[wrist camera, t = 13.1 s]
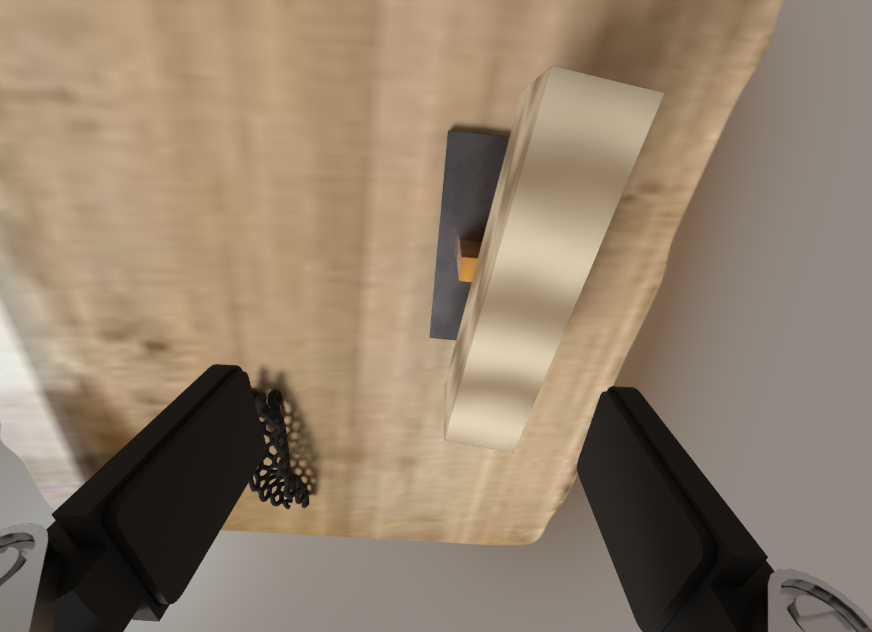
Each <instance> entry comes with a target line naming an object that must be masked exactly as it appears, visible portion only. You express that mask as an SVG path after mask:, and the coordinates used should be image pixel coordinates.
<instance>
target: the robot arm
mask: <svg viewBox="0 0 872 632" xmlns="http://www.w3.org/2000/svg"><path fill="white" fill-rule="evenodd" d="M265 450H266V442H265V438H264V435H263V431H262V427H261V423H260V419H259V415H258V412H257V408H256V404H255V400H254V396H253V392H252V389H251V385H250V381H249V377H248V374H247V373H246V372H244V371H242V369H241V368H240V367H239V366H237V365H220V364H215V365H212V366H211V367H209V368H208V369H207V370H206V371H205V372H204V373H203V374H202V375H201V376H200V377H199V378H198V379H196V380H195V381H194V382H193V383H192V384H191V385H190V386H189V387H188V388H187V389H186V390H185V391H184V392H183V393H181V394H180V395H179V396H178V397H177V398H176V399H175V400H174V401H173V402H172V403H171V404H170V405H169V406H167V407H166V408H165V409H164V410H163V411H162V412H161V413H160V414H159V415H158V416H157V417H156V418H155V419H153V420H152V421H151V422H150V423H149V424H148V425H147V426H146V427H145V428H144V429H143V430H142V431H141V432H140V433H138V434H137V435H136V436H135V437H134V438H133V439H132V440H131V441H130V442H129V443H128V444H127V445H126V446H124V447H123V448H122V449H121V450H120V451H119V452H118V453H117V454H116V455H115V456H114V457H113V458H112V459H111V460H109V461H108V462H107V463H106V464H105V465H104V466H103V467H102V468H101V469H100V470H99V471H98V472H97V473H95V474H94V475H93V476H92V477H91V478H90V479H89V480H88V481H87V482H86V483H85V484H84V485H83V486H82V487H80V488H79V489H78V490H77V491H76V492H75V493H74V494H73V495H72V496H71V497H70V498H69V499H68V500H66V501H65V502H64V503H63V504H62V505H61V506H60V507H59V508H58V509H57V510H56V511H55V512H54V513H53V514H52V516H53V517H54V518H55V520H56V521H55V522H54V523H53V524H52V525H51V526H50V527H49V528H48V529H45V528H44V527H42V526H41V525H37V524H31V523H29V524H21V525H15V526H11V527H8V528H5V529H2V530H0V632H123V631H124V630H125V628H126V627H127V625H128V624H129V622H130V621H131V619H133V620H145V621H160V619H161V618H162V616H163V614H164V613H165V611H166V610H167V608H168V606H169V605H170V604H173V603H175V602H176V601H177V600H178V599H179V598H180V597H181V595H182V594H183V592H184V590H185V589H186V587H187V585H188V584H189V582H190V580H191V579H192V577H193V575H194V574H195V572H196V570H197V569H198V567H199V565H200V563H201V562H202V560H203V558H204V556H205V555H206V553H207V552H208V550H209V548H210V547H211V545H212V543H213V541H214V540H215V538H216V536H217V535H218V533H219V531H220V530H221V528H222V526H223V525H224V523H225V521H226V520H227V518H228V516H229V515H230V513H231V511H232V509H233V508H234V506H235V504H236V503H237V501H238V499H239V498H240V496H241V494H242V493H243V491H244V489H245V487H246V486H247V484H248V482H249V481H250V479H251V477H252V476H253V474H254V472H255V471H256V469H257V467H258V466H259V464H260V462H261V460H262V459H263V457H264V454H265ZM577 471H578V475H579V478H580V481H581V483H582V486H583V488H584V491H585V493H586V496H587V498H588V501H589V503H590V506H591V508H592V511H593V513H594V516H595V518H596V521H597V523H598V526H599V529H600V531H601V534H602V536H603V539H604V541H605V544H606V546H607V549H608V551H609V554H610V557H611V559H612V562H613V564H614V567H615V569H616V572H617V574H618V577H619V579H620V582H621V584H622V587H623V589H624V592H625V594H626V597H627V599H628V602H629V604H630V607H631V610H632V612H633V615H634V617H635V620H636V622H637V624H638V626H639V628H640V629H641V630H642V631H643V632H872V619H871V618H870V617H869V616H868V615H867V614H866V613H865V612H864V611H863V610H862V609H861V608H860V607H858V606H857V605H856V604H855V603H853V602H852V601H851V600H850V599H848V598H847V597H846V596H845V595H844V594H842V593H841V592H839V591H838V590H836V589H835V588H833V587H832V586H830V585H828V584H827V583H825V582H824V581H822V580H820V579H817V578H815V577H813V576H811V575H809V574H807V573H804V572H800V571H796V570H792V569H778V570H777V571H775V572H774V570H773V569H772V568H771V566H770V565H769V564H768V562H767V561H766V559H767V558H768V556H767V555H766V554H765V553H764V551H763V550H762V549H761V548H760V546H759V545H758V544H757V542H756V541H755V540H754V538H753V537H752V536H751V535H750V533H749V532H748V531H747V530H746V529H745V527H744V526H743V524H742V523H741V522H740V520H739V519H738V518H737V517H736V515H735V514H734V513H733V511H732V510H731V509H730V508H729V507H728V505H727V504H726V502H725V501H724V500H723V499H722V497H721V496H720V495H719V493H718V492H717V491H716V490H715V488H714V487H713V486H712V485H711V483H710V482H709V481H708V479H707V478H706V477H705V475H704V474H703V473H702V472H701V470H700V469H699V468H698V466H697V465H696V464H695V463H694V461H693V460H692V459H691V457H690V456H689V455H688V454H687V452H686V451H685V450H684V449H683V447H682V446H681V445H680V443H679V442H678V441H677V439H676V438H675V437H674V436H673V434H672V433H671V432H670V430H669V429H668V428H667V427H666V425H665V424H664V423H663V421H662V420H661V419H660V418H659V416H658V415H657V414H656V412H655V411H654V410H653V408H652V407H651V406H650V405H649V403H648V402H647V401H646V400H645V398H644V397H643V396H642V394H641V393H640V392H639V391H638V390H637V389H636V388H633V387H615V386H612V387H610V388H609V389H608V390H607V392H602V393H601V395H600V398H599V401H598V404H597V407H596V410H595V413H594V415H593V418H592V421H591V424H590V427H589V430H588V433H587V436H586V439H585V442H584V445H583V447H582V450H581V453H580V456H579V459H578V463H577Z"/></svg>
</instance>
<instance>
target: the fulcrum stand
mask: <svg viewBox="0 0 872 632" xmlns="http://www.w3.org/2000/svg"><path fill="white" fill-rule="evenodd" d="M509 138H510V137H507V136H497V135H487V134H476V133H466V132H456V131H448V138H447V149H446V160H445V171H444V182H443V194H442V205H441V216H440V227H439V238H438V249H437V260H436V272H435V283H434V294H433V305H432V316H431V327H430V338H437V339H448V340H457V336H458V333H459V329H460V325H461V321H462V317H463V314H464V310H465V306H466V302H467V298H468V294H469V291H470V287H471V283H472V279H473V275H474V272H475V268H476V264H477V260H478V256H479V253H480V249H481V245H482V241H483V237H484V233H485V230H486V226H487V222H488V218H489V214H490V211H491V207H492V203H493V199H494V195H495V192H496V188H497V184H498V180H499V176H500V172H501V169H502V165H503V161H504V157H505V153H506V150H507V146H508V142H509Z"/></svg>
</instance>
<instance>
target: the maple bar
mask: <svg viewBox="0 0 872 632" xmlns="http://www.w3.org/2000/svg"><path fill="white" fill-rule="evenodd" d="M663 95H664V93H662V92H658V91H654V90H649V89H645V88H641V87H637V86H633V85H629V84H625V83H621V82H617V81H612V80H608V79H604V78H600V77H596V76H592V75H588V74H584V73H579V72H575V71H571V70H567V69H563V68H559V67H555V66H551V67H550V68H549V69H548V70H546V71H545V72H544V73H543V74H542V75H541V76H539V77H538V78H537V79H536V80H535V81H534V82H532V83H531V84H530V85H529V86H528V87H527V88H525V89H524V90H523V91H522V92H521V96H520V100H519V104H518V108H517V111H516V115H515V119H514V123H513V127H512V131H511V134H510V138H509V142H508V146H507V150H506V153H505V157H504V161H503V165H502V169H501V172H500V176H499V180H498V184H497V188H496V192H495V195H494V199H493V203H492V207H491V211H490V214H489V218H488V222H487V226H486V230H485V233H484V237H483V241H482V245H481V249H480V253H479V256H478V260H477V264H476V268H475V272H474V275H473V279H472V283H471V287H470V291H469V294H468V298H467V302H466V306H465V310H464V314H463V317H462V321H461V325H460V329H459V333H458V336H457V340H456V344H455V348H454V352H453V356H452V359H451V363H450V367H449V371H448V375H447V378H446V382H445V409H444V441H447V442H453V443H458V444H464V445H470V446H476V447H481V448H487V449H493V450H499V451H505V452H510V453H513V452H514V450H515V447H516V445H517V443H518V440H519V438H520V436H521V433H522V431H523V428H524V426H525V424H526V421H527V419H528V417H529V414H530V412H531V409H532V407H533V405H534V402H535V400H536V397H537V395H538V393H539V390H540V388H541V386H542V383H543V381H544V378H545V376H546V374H547V371H548V369H549V367H550V364H551V362H552V359H553V357H554V355H555V352H556V350H557V348H558V345H559V343H560V340H561V338H562V336H563V333H564V331H565V329H566V326H567V324H568V321H569V319H570V317H571V314H572V312H573V310H574V307H575V305H576V302H577V300H578V298H579V295H580V293H581V290H582V288H583V286H584V283H585V281H586V279H587V276H588V274H589V271H590V269H591V267H592V264H593V262H594V260H595V257H596V255H597V252H598V250H599V248H600V245H601V243H602V241H603V238H604V236H605V233H606V231H607V229H608V226H609V224H610V222H611V219H612V217H613V214H614V212H615V210H616V207H617V205H618V202H619V200H620V198H621V195H622V193H623V191H624V188H625V186H626V183H627V181H628V179H629V176H630V174H631V172H632V169H633V167H634V164H635V162H636V160H637V157H638V155H639V153H640V150H641V148H642V145H643V143H644V141H645V138H646V136H647V134H648V131H649V129H650V126H651V124H652V122H653V119H654V117H655V115H656V112H657V110H658V107H659V105H660V103H661V100H662V98H663Z"/></svg>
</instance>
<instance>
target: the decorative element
mask: <svg viewBox="0 0 872 632" xmlns="http://www.w3.org/2000/svg"><path fill="white" fill-rule="evenodd" d="M252 392H253V396H254V400H255V404H256V408H257V412H258V415H259V417H262V418H266V419H267V420H265V421H264V422H261V421H260V423H261V427H262V431H263V435H266V436H268V437H269V439H270V442H268V443H267V444H266V450H265V454H264V457H263V459H262V460H261V462H260V464H259V467H258V468H257V469H256V471H255V472H254V474H253V475H254V476H255V479H256V484H254V480H253V476H252V477H251V479H250V481H249V485H250V488H251V490H252V491H257V492H258V493H259V498H260V500H261V501H262V502H265V501H267V500H268V499H269V498H270V500H271V504H272V505H273V506H278V505H280V504H281V503H282V504H283V505H284V507H285V508H286V509H289V508H290V505H288V503H292V502H293V499H292V498H293V497H295V501H296V503H297V504H301V503H302V507H303V508H306V507H307V506H308V505H309V495H308V492H307V489H306V486H305V485H304V483H303V482H302V480H301V479H300V478H299V477H298V476H296V475H295V474H293V473H291V469H290V457H289V448H288V441H287V433H286V426H285V422H284V418H283V417H282V414H281V409H280V405H281V403H282V396H281V392H280V391H271V392H270V393H269V395H268V404H269V405H268V404H267V403H266V399H267V396H266V394H263V393H259V394H258V393H257V391H252ZM269 406H270V407H269ZM275 420H277V421H275ZM269 423H270V424H271V425H273V426H274V429H275V430H274V431H273V432H272V433H271V432H269V431H267V430H266V425H267V424H269ZM275 435H276V437H275V438H274V436H275ZM279 440H280V443H279ZM272 445H273V446H274V447H275V449H276V450H277V453H276V454H275V455H273V454H271V453H270V452H269V447H270V446H272ZM266 457H268V458H269V459H271V460H272V464H271V465H269V466H267V465H264V462H263V460H264V459H265V458H266ZM278 457H280V458H281V459H280V461H279V462H278V463H277V458H278ZM274 467H275V468H277V470H273V468H274ZM261 470H266V471H267V473H266V474H265V475H263V476H260V472H261ZM271 474H274V475H271ZM270 475H271V476H270ZM275 478H276V480H275V481H274V482H273V483H272V484H269V482H270V481H271V480H273V479H275ZM281 479H284V482H280V480H281ZM263 480H265V483H264V485H263V486H262V488H261V487H260V483H261V481H263ZM275 486H277V489H276V491H275V492H274V493H273V494H272V488H273V487H275ZM282 486H285V487H284V491H281V487H282ZM291 488H292V491H293V492H291V491H290V489H291ZM266 489H267V494H266V496H265V497H264V491H265V490H266ZM300 494H301V497H300ZM277 495H279V500H278V501H277V502H276V501H275V497H276V496H277ZM284 496H285V497H286V498H287V499H286V500H285V499H284Z"/></svg>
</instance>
